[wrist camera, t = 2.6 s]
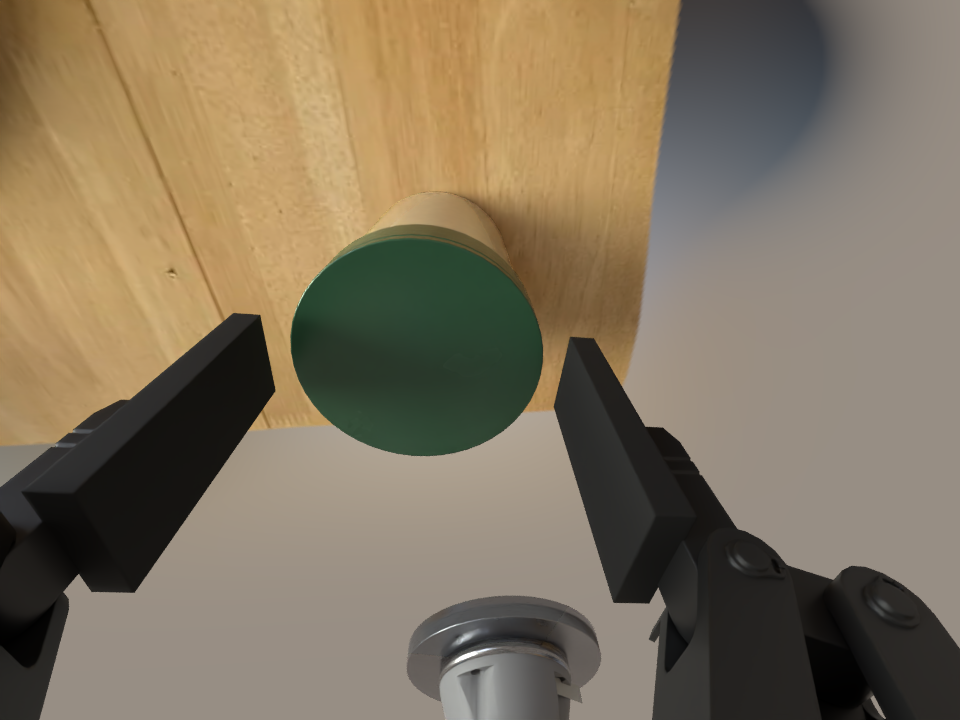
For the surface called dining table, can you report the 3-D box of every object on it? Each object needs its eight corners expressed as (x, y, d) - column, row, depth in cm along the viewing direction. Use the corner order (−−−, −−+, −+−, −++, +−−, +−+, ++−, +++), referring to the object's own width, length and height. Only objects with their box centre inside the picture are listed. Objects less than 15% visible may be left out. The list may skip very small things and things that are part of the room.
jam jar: (485, 339, 25) (496, 457, 16) (360, 310, 23) (298, 421, 15) (525, 214, 21) (567, 279, 12) (378, 172, 20) (311, 211, 11)
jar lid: (497, 440, 17) (501, 474, 16) (304, 404, 16) (285, 436, 14) (567, 260, 13) (582, 279, 12) (318, 192, 12) (295, 203, 10)
